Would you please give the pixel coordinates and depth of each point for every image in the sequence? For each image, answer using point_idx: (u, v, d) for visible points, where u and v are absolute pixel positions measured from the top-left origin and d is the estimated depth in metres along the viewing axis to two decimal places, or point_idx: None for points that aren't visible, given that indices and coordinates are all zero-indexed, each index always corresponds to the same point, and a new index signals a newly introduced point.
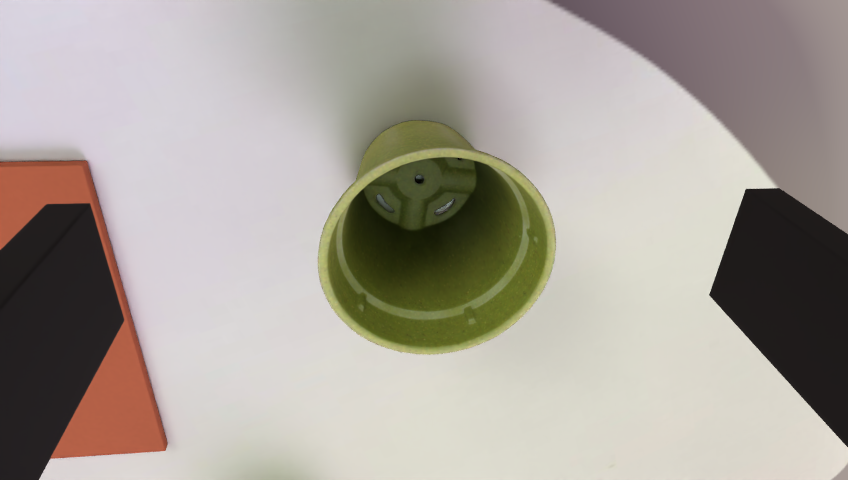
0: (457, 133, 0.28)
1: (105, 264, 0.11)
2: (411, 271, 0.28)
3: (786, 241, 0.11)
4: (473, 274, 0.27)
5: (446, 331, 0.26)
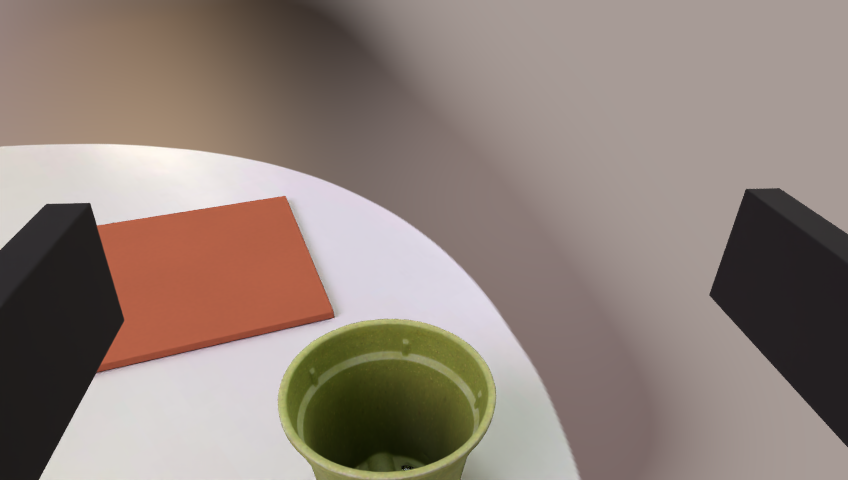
0: None
1: (105, 263, 0.11)
2: None
3: (786, 241, 0.11)
4: None
5: None
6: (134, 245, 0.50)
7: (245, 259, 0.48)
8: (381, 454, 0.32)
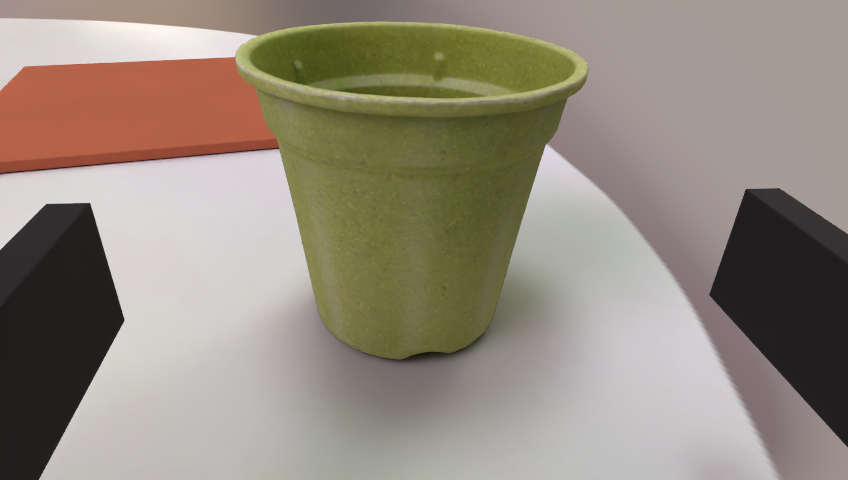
0: None
1: (105, 264, 0.11)
2: None
3: (786, 241, 0.11)
4: None
5: (261, 101, 0.15)
6: (106, 79, 0.41)
7: (236, 92, 0.39)
8: None
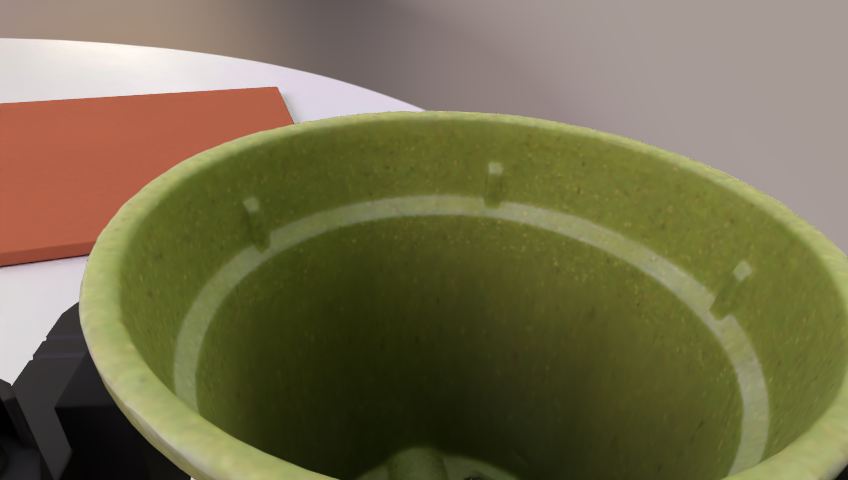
0: None
1: None
2: None
3: None
4: None
5: None
6: (42, 125, 0.33)
7: (203, 145, 0.31)
8: (420, 451, 0.14)
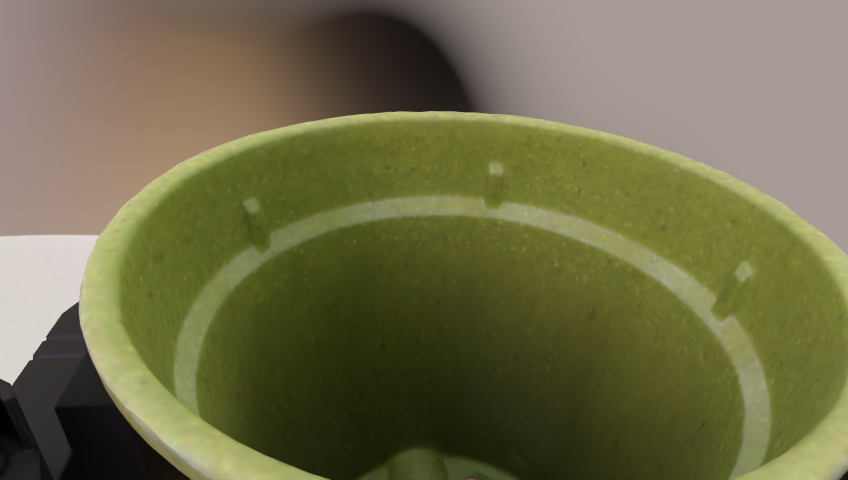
0: None
1: None
2: None
3: None
4: None
5: None
6: None
7: None
8: (420, 452, 0.14)
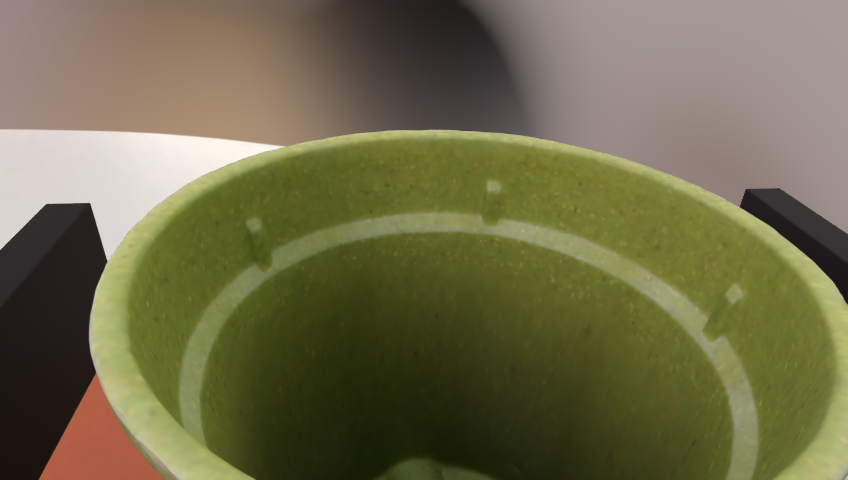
0: None
1: (105, 264, 0.11)
2: None
3: None
4: None
5: None
6: None
7: None
8: (418, 462, 0.14)
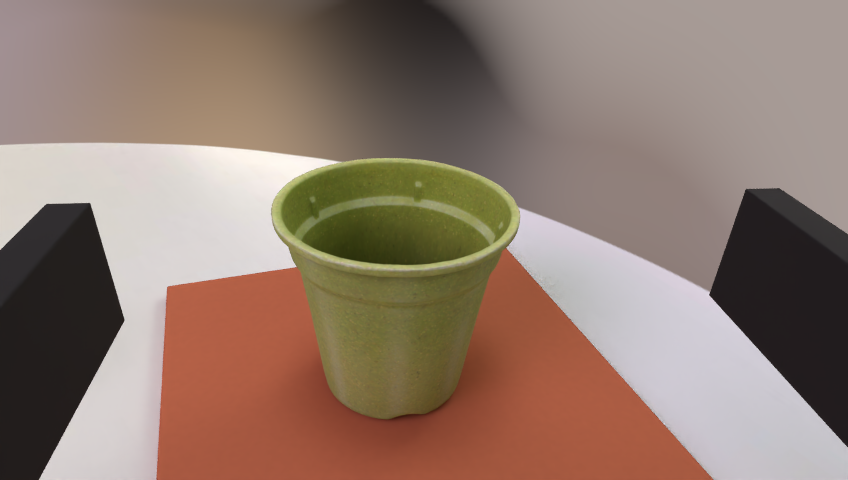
0: None
1: (105, 264, 0.11)
2: None
3: (786, 241, 0.11)
4: None
5: None
6: (294, 321, 0.29)
7: (494, 358, 0.27)
8: None
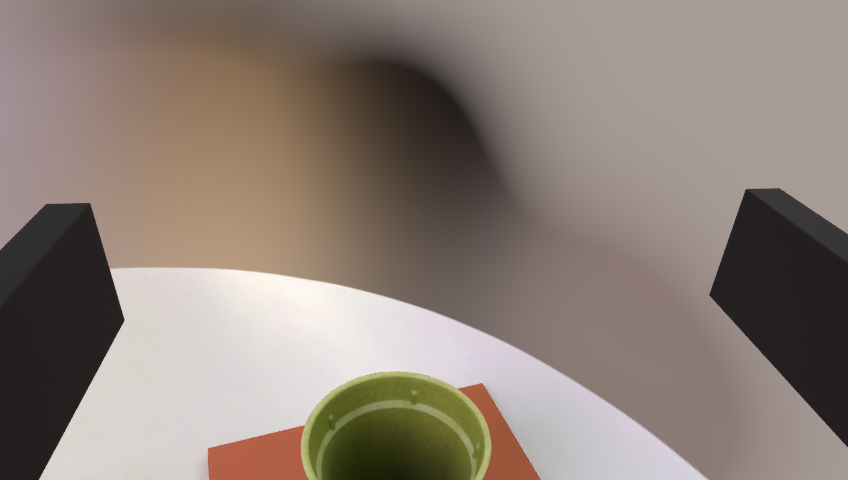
0: None
1: (105, 264, 0.11)
2: None
3: (786, 241, 0.11)
4: None
5: None
6: None
7: None
8: None
